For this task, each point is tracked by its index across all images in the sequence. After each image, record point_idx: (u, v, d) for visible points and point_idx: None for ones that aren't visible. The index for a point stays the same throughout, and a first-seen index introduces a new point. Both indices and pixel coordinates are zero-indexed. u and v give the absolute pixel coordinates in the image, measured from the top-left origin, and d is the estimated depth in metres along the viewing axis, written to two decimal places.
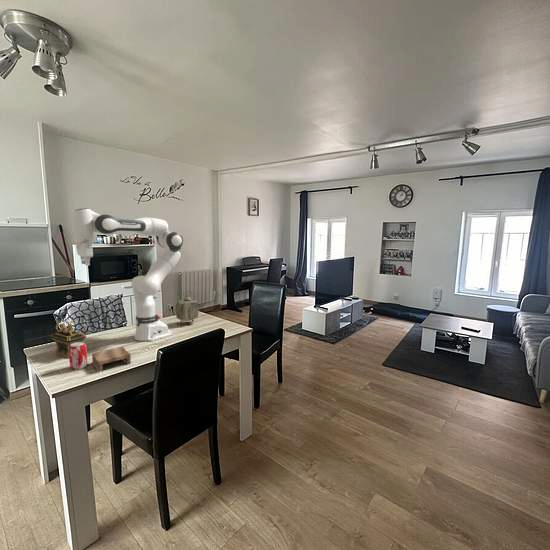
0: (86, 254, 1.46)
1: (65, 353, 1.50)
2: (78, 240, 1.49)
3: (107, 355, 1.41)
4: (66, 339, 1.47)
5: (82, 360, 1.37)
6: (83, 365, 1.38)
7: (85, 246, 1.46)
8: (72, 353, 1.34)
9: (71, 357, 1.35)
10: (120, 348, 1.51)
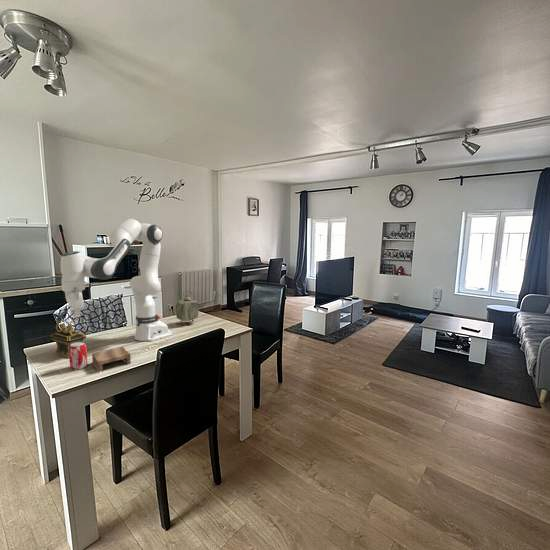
0: (75, 306, 1.27)
1: (65, 353, 1.50)
2: (66, 289, 1.30)
3: (107, 355, 1.41)
4: (66, 339, 1.47)
5: (82, 360, 1.37)
6: (83, 365, 1.38)
7: (74, 297, 1.27)
8: (72, 353, 1.34)
9: (71, 357, 1.35)
10: (120, 348, 1.51)
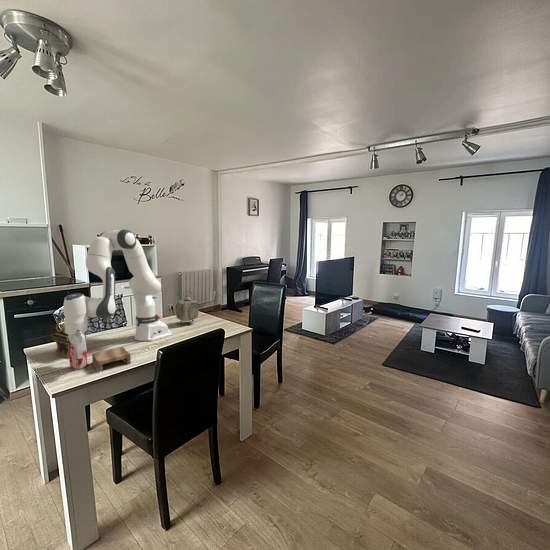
0: (78, 350, 1.29)
1: (65, 353, 1.50)
2: (69, 332, 1.32)
3: (107, 355, 1.41)
4: (66, 339, 1.47)
5: (81, 359, 1.37)
6: (83, 365, 1.37)
7: (77, 341, 1.29)
8: (72, 353, 1.34)
9: (71, 357, 1.35)
10: (120, 348, 1.51)
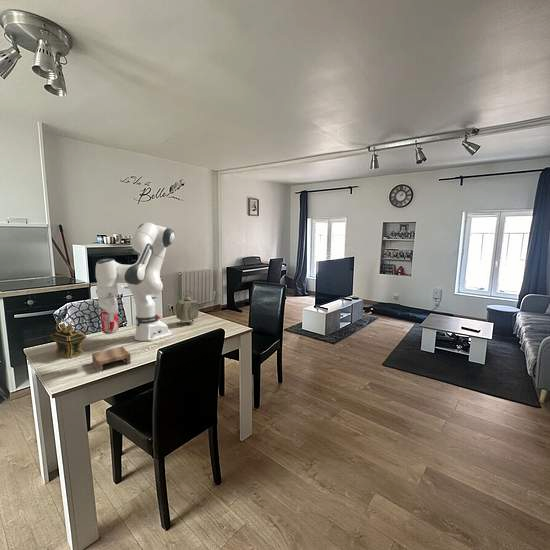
0: (111, 311, 1.33)
1: (65, 353, 1.50)
2: (102, 295, 1.35)
3: (107, 355, 1.41)
4: (66, 339, 1.47)
5: (113, 324, 1.40)
6: (115, 329, 1.41)
7: (110, 303, 1.33)
8: (104, 318, 1.38)
9: (103, 322, 1.38)
10: (120, 348, 1.51)
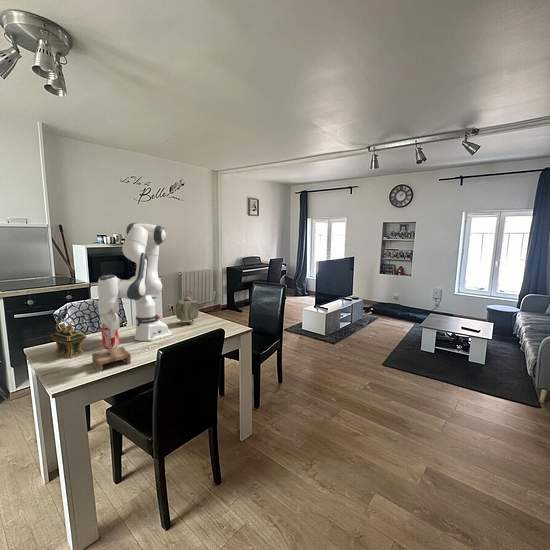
0: (112, 328, 1.34)
1: (65, 353, 1.50)
2: (103, 311, 1.36)
3: (107, 355, 1.41)
4: (66, 339, 1.47)
5: (114, 340, 1.41)
6: (116, 345, 1.42)
7: (111, 319, 1.34)
8: (105, 334, 1.39)
9: (104, 338, 1.39)
10: (120, 348, 1.51)
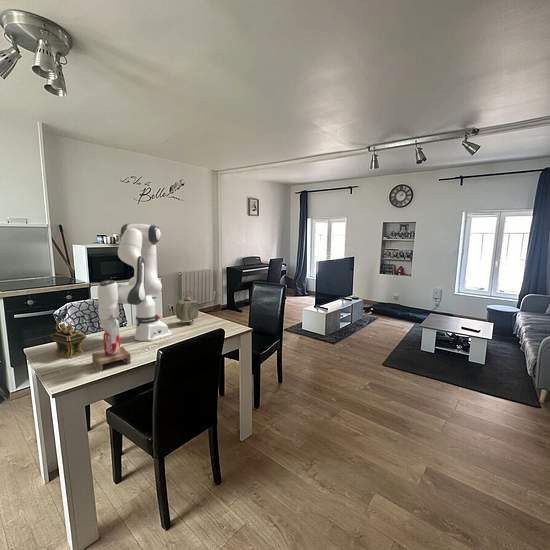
0: (113, 334, 1.34)
1: (65, 353, 1.50)
2: (103, 317, 1.37)
3: (107, 355, 1.41)
4: (66, 339, 1.47)
5: (115, 346, 1.42)
6: (117, 351, 1.43)
7: (112, 325, 1.34)
8: (106, 340, 1.40)
9: (106, 343, 1.40)
10: (120, 348, 1.51)
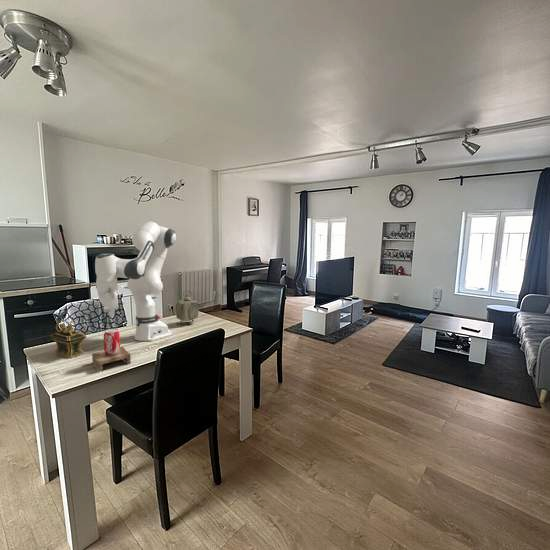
0: (111, 306, 1.32)
1: (65, 353, 1.50)
2: (102, 290, 1.35)
3: (107, 355, 1.41)
4: (66, 339, 1.47)
5: (115, 346, 1.42)
6: (116, 351, 1.43)
7: (110, 297, 1.32)
8: (106, 339, 1.40)
9: (106, 343, 1.40)
10: (120, 348, 1.51)
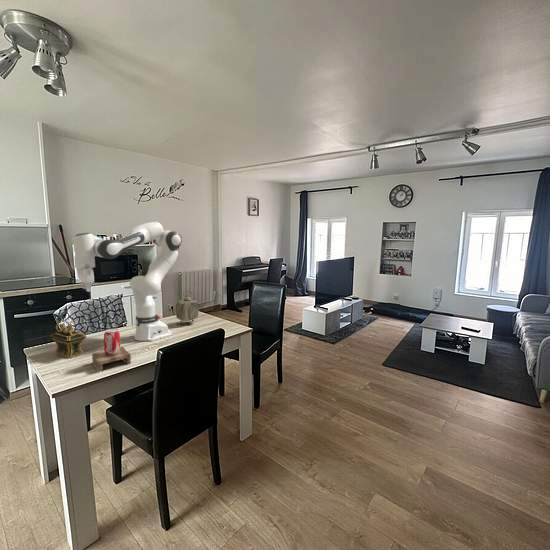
0: (87, 281, 1.43)
1: (65, 353, 1.50)
2: (79, 266, 1.45)
3: (107, 355, 1.41)
4: (66, 339, 1.47)
5: (115, 346, 1.42)
6: (116, 351, 1.43)
7: (86, 272, 1.42)
8: (107, 339, 1.40)
9: (106, 343, 1.40)
10: (120, 348, 1.51)
